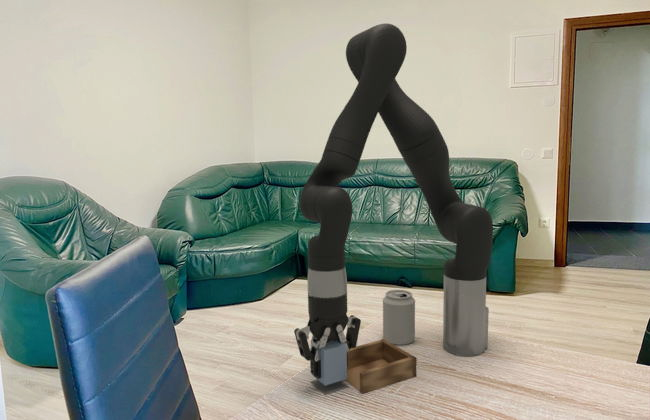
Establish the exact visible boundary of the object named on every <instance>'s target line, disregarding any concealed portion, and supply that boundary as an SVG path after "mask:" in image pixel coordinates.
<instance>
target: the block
mask: <svg viewBox="0 0 650 420" xmlns="http://www.w3.org/2000/svg"><path fill="white" fill-rule="evenodd" d="M318 342H319V341H318ZM320 361H321V378H320V379H318V380H319V381H320V382H321V383H322V384H324V385H329V384H332V383H335V382H338V381H345V379H347V345H346V344H345V343H343V344H341V343H340V342H338V341H337V340H336V341H330V342H328V343H326V345H325V348H324V349H322V350H321V357H320ZM312 376H313V377H314V375H312ZM314 378H315V379H317V378H316V377H314Z"/></svg>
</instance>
